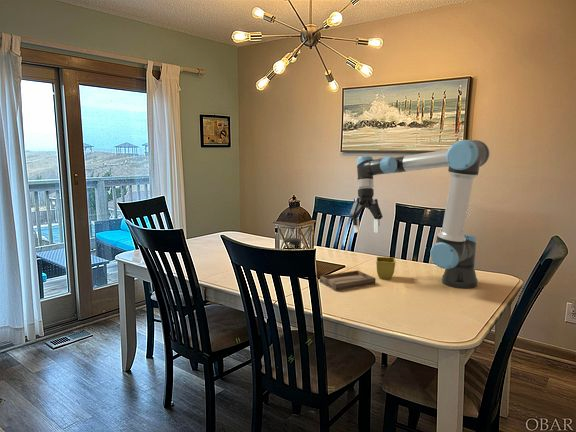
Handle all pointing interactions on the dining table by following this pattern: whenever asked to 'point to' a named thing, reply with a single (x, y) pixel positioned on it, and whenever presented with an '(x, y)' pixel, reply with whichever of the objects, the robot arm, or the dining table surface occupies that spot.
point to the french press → (293, 241)
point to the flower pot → (385, 267)
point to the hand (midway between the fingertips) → (366, 232)
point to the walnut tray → (347, 280)
